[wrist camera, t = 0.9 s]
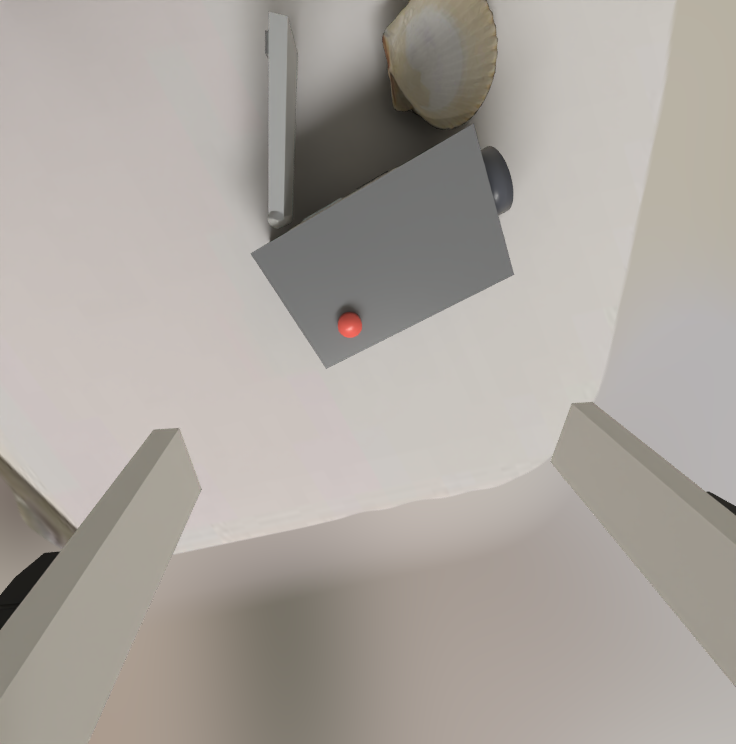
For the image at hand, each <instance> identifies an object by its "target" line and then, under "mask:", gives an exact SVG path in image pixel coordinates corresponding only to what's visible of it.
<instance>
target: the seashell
mask: <svg viewBox="0 0 736 744" xmlns="http://www.w3.org/2000/svg"><path fill="white" fill-rule="evenodd" d="M382 42H383V47H384V50H385V54H386V59H387V63H388V69H387V70H388V75H389V78H390V82H391V95H392V103H393V107H394V109H395V110H396V111H403V112H404V111H405V112H406V111H409V110H412V112H414V113H415V114H418V115H420V117H422V118H423V119H425V120H426V122H428V123H429V124H430V125H432V126H433V127H435V128H438V129H442V130H445V129H454V128H456V127H459V126H461V125H463V124H465V123H466V122H467V121H468V120H470V119H471V118H472V117H473V115H475V114H476V112H477V111H478V109H479V107H480V106H481V105H482V103H483V102H484V100H485V98H486V96H487V94H488V92H489V89H490V86H491V84H492V81H493V77H494V74H495V69H496V58H497V53H498V52H497V42H498V38H497V36H496V26H495V24H494V21H493V13H492V11H491V10H490V9H489V6H488V3H487V0H409V2H408V5H407V6H406V7H405V8H404V9H403V10H402V11H401V12H400V13H399V14H398V15H397V17H396V19H395V20H394V21H393V22H391V23H390V24H389V26H388V27H387V28H386V30H385V32H384V33H383V37H382Z"/></svg>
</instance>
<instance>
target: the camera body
mask: <svg viewBox="0 0 736 744" xmlns="http://www.w3.org/2000/svg"><path fill="white" fill-rule="evenodd" d="M512 202H513V185H512V180H511V176H510V172H509V169H508V167H507V164H506V162H505V160H504V158H503V157H502V155H501V154H500V153H499V151H498V150H497V149H495V148H494V147H492V146H487V147H486V148H484V149H482V150H480V146H479V142H478V138H477V135H476V131H475V127H474V124H472V125H470V126H468V127H467V128H465V129H463V130H461V131H460V132H458V133H456V134H454V135H453V136H451V137H449V138H447V139H446V140H444V141H442V142H441V143H439V144H437V145H435V146H434V147H432V148H430V149H429V150H427V151H425V152H423V153H422V154H420V155H418V156H417V157H415V158H413V159H411V160H410V161H408V162H406V163H405V164H403V165H401V166H399V167H398V166H397V167H396V168H394V169H392V170H390V171H389V172H388V171H387V172H385V173H383V174H381V175H380V176H378V177H376V178H375V179H373V180H371V181H369V182H368V183H366V184H364V185H363V186H361V187H359V188H357V190H356V191H355V192H353V193H351V194H349V195H348V196H346V197H344V198H343V199H342V197H341V198H339V199H337V200H336V201H334V202H332V203H331V204H329V205H327V206H325V207H324V208H322V209H320V210H319V211H317V212H315V213H313V214H312V215H310V216H308V217H307V218H305V219H303V222H301V223H300V224H298V225H296V226H295V227H293V228H291V229H289V230H288V232H286V233H285V234H283V235H281V236H279V237H278V238H276V239H274V240H273V241H271V242H269V243H267V244H266V245H264V246H262V247H261V248H259V249H257V250H256V251H254V252H252V253H251V255H252V256H253V258H254V259H255V261H256V262H257V264H258V265H259V267H260V268H261V270H262V272H263V273H264V275H265V276H266V278H267V279H268V281H269V282H270V284H271V285H272V287H273V288H274V290H275V291H276V293H277V294H278V296H279V297H280V299H281V300H282V302H283V303H284V305H285V307H286V308H287V310H288V311H289V313H290V314H291V316H292V317H293V319H294V320H295V322H296V323H297V325H298V326H299V328H300V329H301V331H302V332H303V334H304V335H305V337H306V339H307V340H308V342H309V343H310V345H311V346H312V348H313V349H314V351H315V352H316V354H317V355H318V357H319V358H320V360H321V361H322V363H323V364H324V366H325V367H326V369H327V368H329V367H331V366H333V365H335V364H337V363H339V362H341V361H343V360H345V359H347V358H349V357H351V356H353V355H355V354H357V353H359V352H361V351H363V350H365V349H367V348H369V347H371V346H373V345H375V344H377V343H379V342H381V341H383V340H385V339H387V338H389V337H391V336H393V335H395V334H397V333H399V332H401V331H403V330H405V329H407V328H409V327H411V326H413V325H415V324H417V323H419V322H421V321H423V320H425V319H427V318H429V317H431V316H432V315H434V314H436V313H438V312H440V311H442V310H444V309H446V308H448V307H450V306H452V305H454V304H456V303H458V302H460V301H462V300H464V299H466V298H468V297H470V296H472V295H474V294H476V293H478V292H480V291H482V290H484V289H486V288H488V287H490V286H492V285H494V284H496V283H498V282H500V281H502V280H504V279H506V278H508V277H510V276H512V275H514V273H513V269H512V265H511V262H510V258H509V254H508V250H507V247H506V243H505V239H504V235H503V232H502V228H501V224H500V221H499V217H498V216H499V215H501V214H502V213H504V212H506V211H508V210H509V209H510V208H511V205H512Z"/></svg>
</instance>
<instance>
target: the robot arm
mask: <svg viewBox="0 0 736 744" xmlns="http://www.w3.org/2000/svg"><path fill="white" fill-rule="evenodd" d="M551 463H552V464H553V466H554V467H555V468H556V469H557V470H558V472H559V473H560V474H561V475H562V477H563V478H564V479H565V480H566V481H567V483H568V484H569V485H570V486H571V487H572V489H573V490H574V491H575V492H576V494H577V495H578V496H579V497H580V498H581V500H582V501H583V502H584V503H585V505H586V506H587V507H588V508H589V509H590V511H591V512H592V513H593V514H594V515H595V517H596V518H597V519H598V520H599V522H600V523H601V524H602V525H603V526H604V528H605V529H606V530H607V531H608V533H609V534H610V535H611V536H612V537H613V539H614V540H615V541H616V542H617V543H618V544H619V546H620V547H621V548H622V550H623V551H624V552H625V553H626V554H627V555H628V557H629V558H630V559H631V560H632V562H633V563H634V564H635V565H636V567H637V568H638V569H639V570H640V571H641V573H642V574H643V575H644V576H645V578H646V579H647V580H648V581H649V582H650V584H651V585H652V586H653V587H654V588H655V590H656V591H657V592H658V593H659V595H660V596H661V597H662V598H663V599H664V601H665V602H666V603H667V604H668V605H669V606H670V608H671V609H672V610H673V611H674V613H675V614H676V615H677V616H678V617H679V619H680V620H681V621H682V622H683V624H684V625H685V626H686V627H687V629H689V631H690V632H691V633H692V635H693V636H694V637H695V638H696V640H697V641H698V642H699V643H700V644H701V646H702V647H703V648H704V649H705V650H706V652H707V653H708V654H709V655H710V657H711V658H712V659H713V660H714V661H715V663H716V664H717V665H718V666H719V667H720V669H721V670H722V671H723V672H724V674H725V675H726V676H727V677H728V678H729V680H730V681H731V682H732V683H733V684H734V686H735V687H736V506H734V505H732V504H731V503H729V502H727V501H725V500H723V499H722V498H720V497H718V496H716V495H714V494H713V493H710V492H705V491H704V490H703V489H702V488H700V487H699V486H698V485H697V484H695V483H694V482H693V481H691V480H690V479H689V478H688V477H686V476H685V475H684V474H682V473H681V472H680V471H679V470H678V469H676V468H675V467H674V466H672V465H671V464H670V463H669V462H667V461H666V460H665V459H664V458H662V457H661V456H660V455H659V454H657V453H656V452H655V451H654V450H652V449H651V448H650V447H648V446H647V445H646V444H645V443H643V442H642V441H641V440H640V439H638V438H637V437H636V436H635V435H633V434H632V433H631V432H629V431H628V430H627V429H626V428H624V427H623V426H622V425H621V424H619V423H618V422H617V421H616V420H614V419H613V418H612V417H610V416H609V415H608V414H607V413H605V412H604V411H603V410H601V409H600V408H599V407H598V406H597V405H595V404H594V403H593V402H586V403H572V404H571V407H570V410H569V412H568V415H567V418H566V421H565V423H564V426H563V429H562V432H561V434H560V437H559V440H558V443H557V445H556V448H555V451H554V454H553V456H552V459H551ZM201 490H202V489H201V486H200V484H199V481H198V478H197V476H196V473H195V470H194V467H193V465H192V462H191V459H190V456H189V454H188V451H187V448H186V445H185V443H184V440H183V437H182V434H181V432H180V429H179V428H174V429H158V430H153V431H152V433H151V434H150V435H149V437H148V438H147V439H146V440H145V442H144V443H143V444H142V446H141V447H140V448H139V450H138V451H137V452H136V454H135V455H134V456H133V457H132V459H131V460H130V461H129V463H128V464H127V465H126V467H125V468H124V469H123V471H122V472H121V473H120V474H119V476H118V477H117V478H116V480H115V481H114V482H113V484H112V485H111V486H110V487H109V489H108V490H107V491H106V493H105V494H104V495H103V497H102V498H101V499H100V501H99V502H98V503H97V504H96V506H95V507H94V508H93V510H92V511H91V512H90V514H89V515H88V516H87V518H86V519H85V520H84V521H83V523H82V524H81V525H80V527H79V528H78V529H77V531H76V532H75V533H74V534H73V536H72V537H71V538H70V540H69V541H68V542H67V544H66V545H65V546H64V548H63V549H62V550H61V551H60V552H51V553H44V554H43V555H41V556H40V557H39V558H38V559H37V560H35V561H34V562H33V563H32V564H31V565H29V566H28V567H27V568H26V569H24V570H23V571H22V572H21V573H20V574H19V575H17V576H16V577H15V578H14V579H13V580H12V582H11V583H10V584H9V585H8V586H7V588H6V589H5V590H4V591H3V592H2V594H1V595H0V744H88V743H89V740H90V738H91V736H92V734H93V731H94V729H95V727H96V725H97V723H98V720H99V718H100V716H101V714H102V711H103V709H104V707H105V704H106V702H107V700H108V698H109V696H110V693H111V691H112V689H113V687H114V684H115V682H116V680H117V677H118V675H119V673H120V671H121V669H122V667H123V664H124V662H125V660H126V658H127V655H128V653H129V651H130V648H131V646H132V644H133V642H134V640H135V637H136V635H137V633H138V631H139V628H140V626H141V624H142V621H143V619H144V617H145V615H146V613H147V611H148V608H149V606H150V604H151V602H152V599H153V597H154V595H155V593H156V590H157V588H158V586H159V584H160V581H161V579H162V577H163V575H164V572H165V570H166V568H167V566H168V563H169V561H170V559H171V557H172V555H173V552H174V550H175V548H176V546H177V543H178V541H179V539H180V537H181V534H182V532H183V530H184V528H185V525H186V523H187V521H188V519H189V516H190V514H191V512H192V510H193V507H194V505H195V503H196V501H197V499H198V496H199V494H200V492H201Z"/></svg>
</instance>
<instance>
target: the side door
mask: <svg viewBox="0 0 736 744" xmlns="http://www.w3.org/2000/svg"><path fill="white" fill-rule="evenodd" d="M265 50H266V55H267V57H268V60H269V95H268V222H269V224H270V225H271V226H272V227H274V228H281V227H283V226H285V225H287V224H289V223H291V222H292V220H293V187H294V156H295V124H296V92H297V61H298V53H297V49H296V46H295V42H294V38H293V34H292V30H291V26H290V23H289V19H288V16H286V15H282V14H277V13H273V12H269V31H266V30H265Z"/></svg>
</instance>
